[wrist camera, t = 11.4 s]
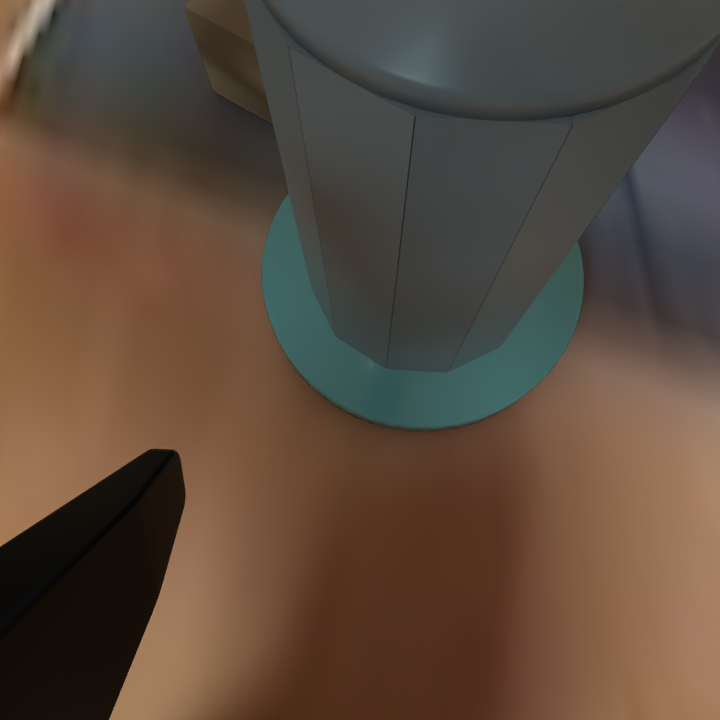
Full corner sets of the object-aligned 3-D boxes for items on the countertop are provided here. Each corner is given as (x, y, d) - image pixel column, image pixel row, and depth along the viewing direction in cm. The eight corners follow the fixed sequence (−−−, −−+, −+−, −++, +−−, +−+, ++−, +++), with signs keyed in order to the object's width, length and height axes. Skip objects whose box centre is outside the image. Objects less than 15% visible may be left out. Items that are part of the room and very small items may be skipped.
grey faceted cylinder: (568, 239, 20) (867, -191, 8) (457, 414, 18) (625, 199, 6) (389, 139, 21) (417, -364, 9) (270, 294, 20) (117, -74, 8)
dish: (625, 242, 21) (640, 226, 20) (471, 496, 19) (477, 494, 18) (376, 104, 23) (377, 82, 22) (205, 319, 21) (196, 307, 20)
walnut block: (349, 67, 24) (346, -22, 20) (293, 136, 23) (278, 58, 19) (270, 25, 25) (252, -69, 21) (213, 91, 24) (183, 6, 20)
